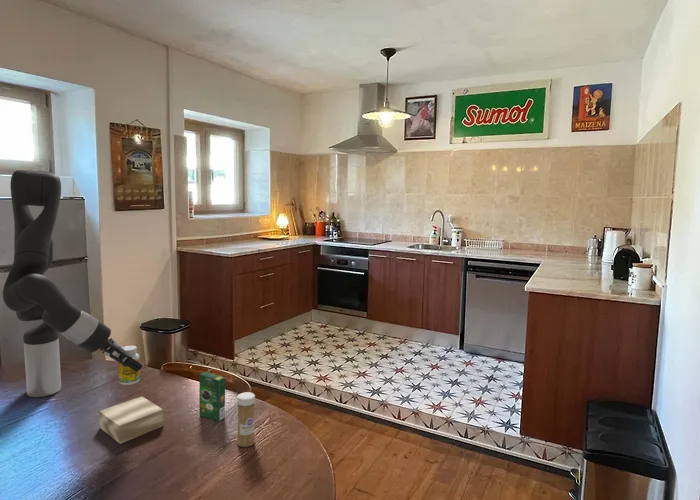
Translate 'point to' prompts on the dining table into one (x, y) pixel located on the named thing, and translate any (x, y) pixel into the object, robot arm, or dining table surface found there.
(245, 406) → the sprinkles bottle
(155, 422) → the pale wooden block
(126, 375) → the supplement bottle
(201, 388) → the coffee box
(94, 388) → the dining table surface
